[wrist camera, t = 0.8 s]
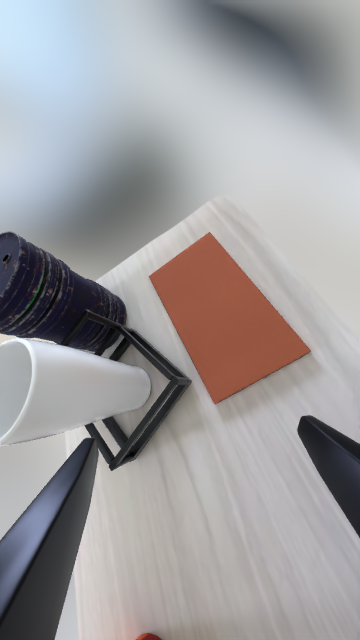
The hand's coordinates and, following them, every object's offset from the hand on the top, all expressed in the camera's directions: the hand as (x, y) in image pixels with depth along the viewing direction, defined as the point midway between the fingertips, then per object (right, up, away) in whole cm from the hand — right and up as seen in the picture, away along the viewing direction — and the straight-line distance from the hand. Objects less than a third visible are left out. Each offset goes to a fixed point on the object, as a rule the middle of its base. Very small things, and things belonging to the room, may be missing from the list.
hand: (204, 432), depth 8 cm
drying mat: (+3, +7, +16) cm, 18 cm away
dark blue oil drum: (-14, +5, +23) cm, 27 cm away
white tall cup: (-7, -4, +17) cm, 19 cm away
